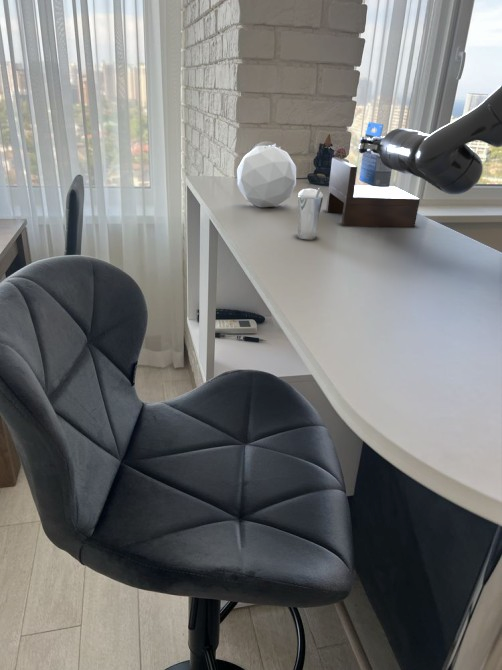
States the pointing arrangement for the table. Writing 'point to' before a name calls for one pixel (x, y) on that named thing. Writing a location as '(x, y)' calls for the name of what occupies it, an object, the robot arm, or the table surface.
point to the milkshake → (309, 212)
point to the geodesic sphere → (266, 176)
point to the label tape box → (374, 163)
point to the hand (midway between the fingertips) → (375, 142)
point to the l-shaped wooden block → (368, 200)
